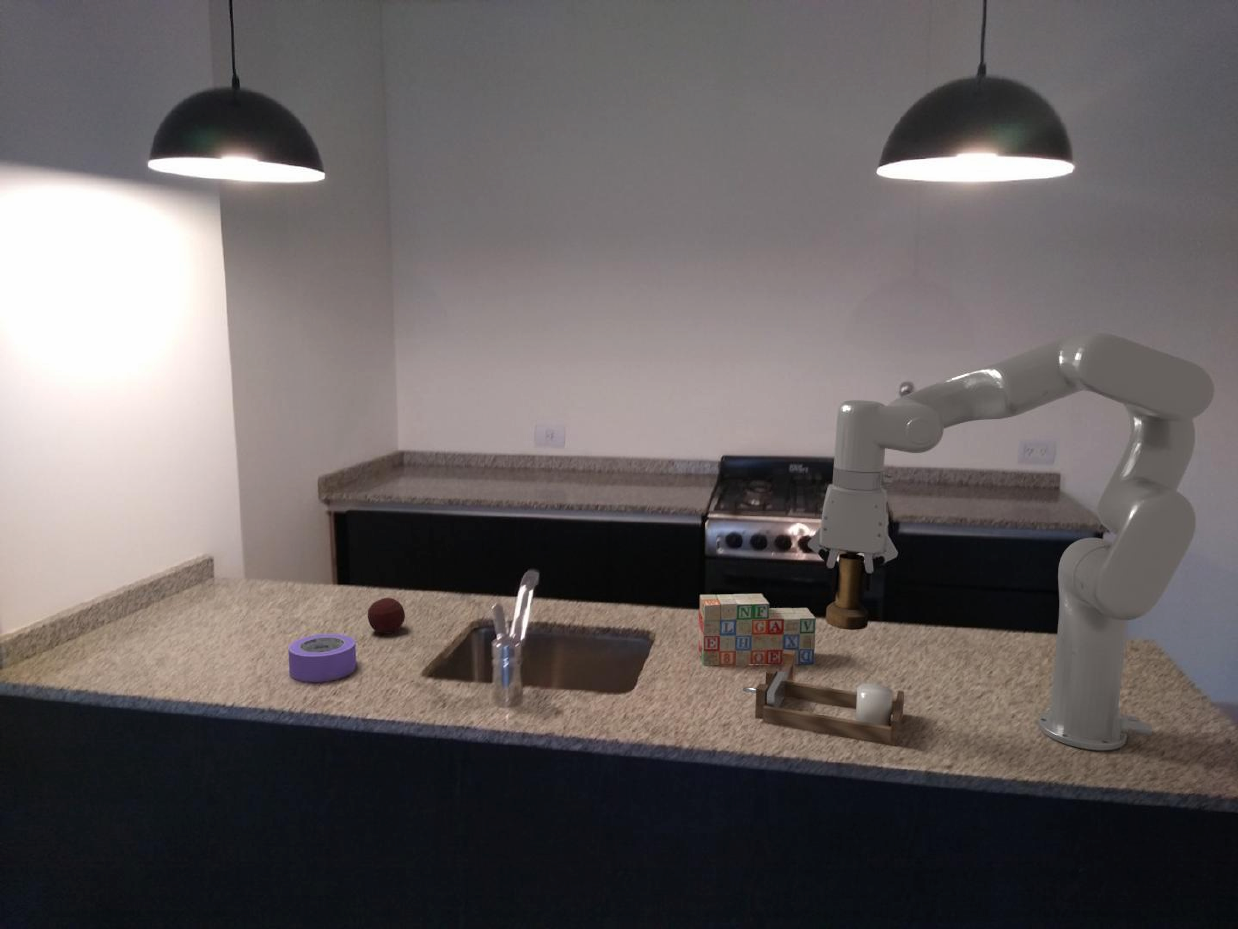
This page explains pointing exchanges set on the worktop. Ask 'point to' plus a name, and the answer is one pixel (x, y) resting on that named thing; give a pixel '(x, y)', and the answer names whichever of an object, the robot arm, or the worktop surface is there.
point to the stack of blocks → (752, 631)
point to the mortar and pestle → (848, 595)
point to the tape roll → (322, 657)
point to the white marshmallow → (874, 704)
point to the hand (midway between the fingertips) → (848, 591)
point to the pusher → (780, 680)
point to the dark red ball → (386, 615)
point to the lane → (821, 721)
